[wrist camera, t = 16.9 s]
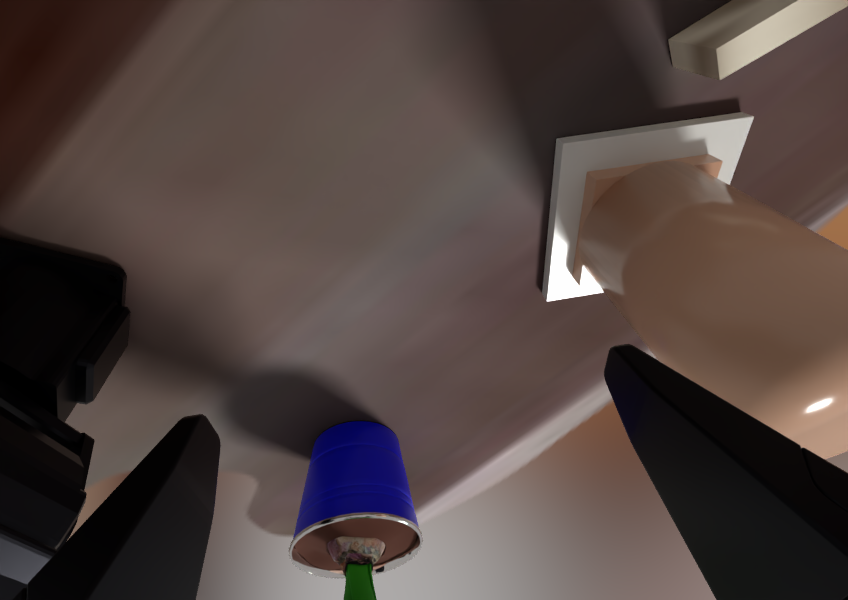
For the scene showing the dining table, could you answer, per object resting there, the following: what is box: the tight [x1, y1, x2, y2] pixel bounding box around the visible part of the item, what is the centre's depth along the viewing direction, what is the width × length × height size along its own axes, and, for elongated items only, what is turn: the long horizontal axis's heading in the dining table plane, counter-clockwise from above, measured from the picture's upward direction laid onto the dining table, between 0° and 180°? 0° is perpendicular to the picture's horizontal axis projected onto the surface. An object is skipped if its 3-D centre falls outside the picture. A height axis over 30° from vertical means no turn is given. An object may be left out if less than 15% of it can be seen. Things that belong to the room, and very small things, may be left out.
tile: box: [542, 112, 754, 301], centre depth 22 cm, size 9×9×1 cm
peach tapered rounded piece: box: [572, 154, 848, 459], centre depth 17 cm, size 7×7×12 cm
